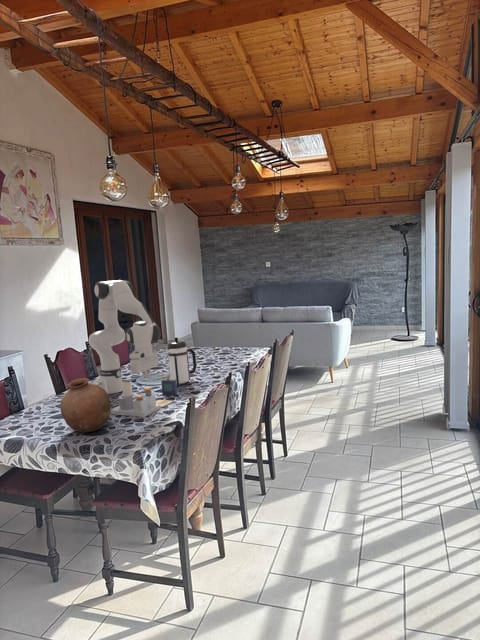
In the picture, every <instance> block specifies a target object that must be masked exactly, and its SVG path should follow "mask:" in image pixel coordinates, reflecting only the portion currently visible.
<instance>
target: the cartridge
mask: <svg viewBox="0 0 480 640" xmlns="http://www.w3.org/2000/svg"><path fill="white" fill-rule="evenodd" d="M122 390H123V391H122V395H123V398H129V397H133V383H132V380H131V379H127V378H126V379H125V378H122Z"/></svg>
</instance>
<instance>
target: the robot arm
mask: <svg viewBox="0 0 480 640" xmlns="http://www.w3.org/2000/svg"><path fill="white" fill-rule="evenodd" d="M93 290H94V294H95V295H94V296H95V297H96V298H97V299H99V301H98V321H99V322H101V324H103V327H104V329H102V330H97V331H94V332H93V333H91V334H90V335H89V337H88V344H89V346H90V347H91V348H92V349H93V350H95V351H96V353H97V355H98V356H99V360H100V365H101V366H100V367H101V369H100V370H99V371H98V373H99V376H98V377H97V378H96V379H95V380H94V381H93V382H92V384H94V385H97V386H100V387H101V388H103V389H104V390H105V391H106V392H107V394H108V395H110V394H116V393H120V392H123V390H122V380H123V378H122V367H121V365H120V357H119V356H120V355H119V354H118V353H116V352H114V351H113V346H116V345H119V344H121V343H123V342H124V341H125V339H126V342H127V343H128V344H130V345H132V346H133V345H134V350H133V351H132V352H131V353H130V354H129V355H128V356H129V359H130V361H129V363H130V364H129V366H130V372H131V373H132V374H135V375H137V374H139V373H141V374H142V375H143V378H144V379H148V378H150V376H151V374H150V373H151V370H152V368H155V367H157V366H159V365H160V361H159V355H158V353H157V350H156V349H155V348H153V346H152V343H157V342H158V341H159V340H160V339H161V336H162V333H161V332H162V331H161V328H160V326H159V325H158V324H157V323H156V322H155V320H154V319H153V317H152V316H151V314H150V312H149V311H148V308H147V307H146V306H145V304H144V303H143V302H141V301H140V300H138V299H137V298H136V297H135V296H134V293H133V285H132V283H131V282H130V281H128V280H121V279H118V280H115V279H114V280H106V281H104V280H103V281H102V280H101V281H98V282H96V283H95V284H94V289H93ZM118 311H120V312H122V313H125V314H132V315H135V316H138V317H140V318H141V320H138V321H135V322H134V323H133V324H132V325H133V326H131V327H129V328H127V330H126V332H125V330H124V329H123V328H122V327H121V326H120V323H119V321H118Z"/></svg>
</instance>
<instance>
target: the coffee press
mask: <svg viewBox="0 0 480 640" xmlns="http://www.w3.org/2000/svg"><path fill="white" fill-rule="evenodd" d="M165 352H166V353H167V361H168V367H169V368H168V370H169V377H170V379H169V380H172V379H176V384H177V388H179V387H180V385H182V384H186V383H188V384H190V385H191V384H192V383H193V380H191V376H190V375H191V374H194V373H195V372H196V371H197V358H196V353H195V351H194V350H193V349H191V348H188V344H187V343H186V341H184V340H179V338H178V337H174V340H173V341H170V342H168V343H167V346H166V350H165ZM188 353H190V354H191V356H192V357H191V358H192V369H191V370H190V366H189V365H190V364H189V354H188Z"/></svg>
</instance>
